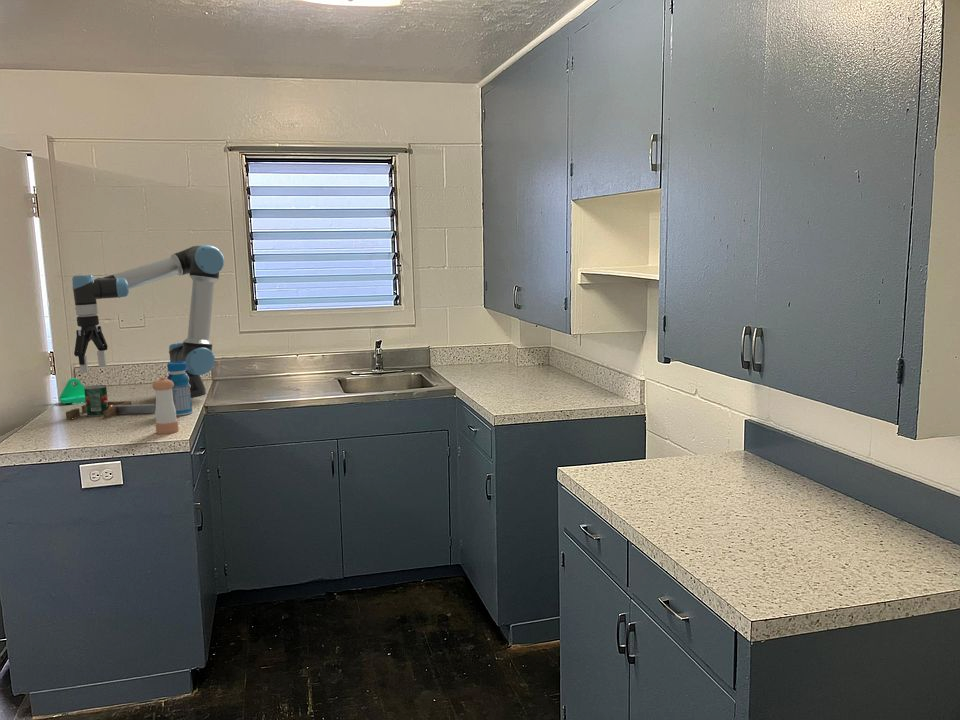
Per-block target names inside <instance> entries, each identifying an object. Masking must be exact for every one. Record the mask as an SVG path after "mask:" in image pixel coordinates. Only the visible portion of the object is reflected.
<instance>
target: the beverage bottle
mask: <svg viewBox="0 0 960 720" xmlns="http://www.w3.org/2000/svg"><path fill="white" fill-rule="evenodd" d="M166 367H167V372H168V376H167V377H166V379H169V380H172V382H173V383H174V387H173V388H172V394H173V402H174V406H175V409H176V417H177V416H178V417H180V416H187V415H190V414H192V413H193V407H192V397H191V393H190V388H191V386H190V383H189V380H190V379H189V376H188V375H187V373H186V372H185V371H186V369H187V368H186V362H182V361H180V362H170V361H169V362H168V363H167V365H166Z"/></svg>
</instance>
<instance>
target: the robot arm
mask: <svg viewBox="0 0 960 720" xmlns="http://www.w3.org/2000/svg"><path fill="white" fill-rule="evenodd" d="M224 265H225V258H224V254H223V252H221V251H220V249H219V248H217V247H216V246H213V245H210V244H209V245H208V244H203V245H193V246H190V247H188V248H186V249H184V250H181V251H177V252H175V253H171V256H170V257H167V258H163V259H159V260H157V261H153V262H150V263H147V264H143V265H140V266H136V267H133V268H130V269H126V270H124V271H123V270H122V271H121V272H116V273H113V274H110V275H107V276H103V277H97V278H95V277H94V275H92V274H84V275H83V274H81V275H80V274H79V275H73V276H72V279H71V281H72V291H73V297H74V298H73V299H74V300H73V301H74V305H75V307H74V310H75V314H76V324H77V326H78V327H80V329H77V330H76V331H75V333H76V337H75V346H74V351H73V353H74V354H73V355H74V356H75V357H78V362H79V363H78V365H79V372H80V374H89V366H88V358H87V355H86V353H87V349H88V345H89V342H91V341H92V342H93V344H94V346H95V348H96V349H97V351H96V354H97V355H96V356H97V362H98V363H97V365H98V367H99V368H106V367H107V360H106V359H107V358H106V352H105V351H107V350H108V344H107V340H106V339H105V335H104V334H103V332H102V326H101V325H99V324H100V320H99V315H98V313H99V311H98V304H97V303H98V302H97V300H101V299H116V298H119V299H120V298H125V297H127V296H128V295H129V292H130V291H129V290H130V289H134V288H137V287H140V286H144V285H146V284H150V283H153V282H157V281H159V280H163V279H167V278H170V277H173V276H177V275H178V276H185V275H189V277H190V279H192V285H191V286H192V287H191V296H190V305H189V306H190V308H189V319H188V327H187V328H188V330H187V331H188V332H187V337H186V338H185V339H184V340H183V341H182V342H177V343H170V344H169V347H168V353H169V363H170V362H180V361H182V362H186V368H187V369H186V371H185V372H186V373H187V375H188V376H189V379H190V380H189V383H190V386H191V388H190V393H191V398H193V397H198V396H199V397H200V396H202V395H205V394H207V391H206V389H207V388H206V386H205V384H204V382H203V380H202V377H201V376H204V375H206V374H208V373H209V372H211V371H212V370H213V368H214V366H215V362H216V357H215V355H214V352H213V342H212V341H211V340H210V333H211V324H212V323H211V322H212V312H213V302H214V301H213V300H214V293H215V292H214V289H215V283H216V282H217V281H219V280H220V279H219V276H220V271H222V269H223V268H224V267H225V266H224Z"/></svg>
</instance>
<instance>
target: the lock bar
mask: <svg viewBox="0 0 960 720" xmlns="http://www.w3.org/2000/svg"><path fill="white" fill-rule="evenodd" d="M110 408H116V415H127V414H129V415H130V414H131V415H132V414H133V415H134V414H136V415H137V414H154V413H155V411H156V403H155V404H154V403H151V404H148V403H147V404H132V405H108V407H107V409H110Z"/></svg>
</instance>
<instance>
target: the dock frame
mask: <svg viewBox="0 0 960 720" xmlns="http://www.w3.org/2000/svg"><path fill="white" fill-rule="evenodd" d="M108 405H133V404H132V400H123V401H122V400H118V401H115V400H114V401H113V400H112V401H111V400H110V401H109V400H108ZM81 413H86V414H87V410H86V404H83V405H81ZM81 413H80V408H74V409H71V410H68V411H66V412H65V417H66V418H65V419H66V420H67V419H71V420H73V419H72V418H74V419H76V418H78V416H79V417H80V416H81ZM116 416H117V414H116V408H110V409H107V410H105V411H103V415H102V417H103V420H108V418H109V419H110V418H112V417H116ZM75 417H76V418H75Z"/></svg>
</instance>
